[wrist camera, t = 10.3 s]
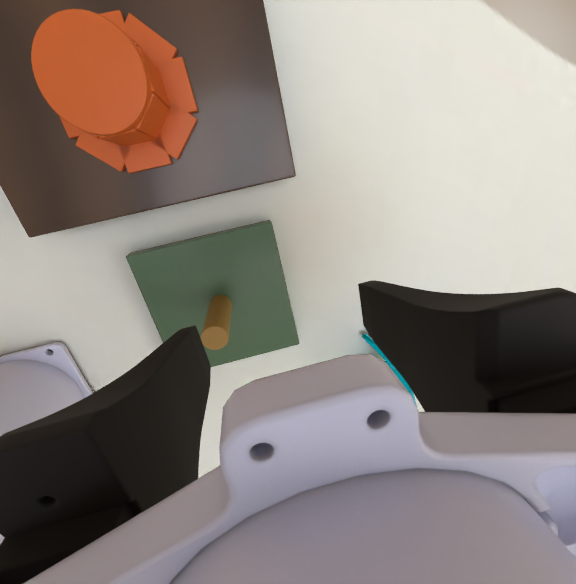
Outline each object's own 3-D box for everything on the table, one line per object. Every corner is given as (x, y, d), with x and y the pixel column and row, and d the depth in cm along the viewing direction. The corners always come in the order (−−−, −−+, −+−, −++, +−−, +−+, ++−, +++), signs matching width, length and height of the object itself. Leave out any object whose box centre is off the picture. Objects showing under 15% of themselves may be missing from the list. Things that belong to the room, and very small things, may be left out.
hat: (91, 182, 17) (48, 183, 13) (26, 32, 14) (-52, -20, 10) (211, 155, 17) (201, 149, 13) (168, 4, 14) (142, -56, 11)
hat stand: (179, 368, 24) (160, 424, 19) (130, 252, 21) (88, 280, 15) (297, 338, 25) (312, 384, 19) (270, 219, 21) (279, 234, 16)
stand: (54, 230, 19) (28, 238, 17) (-54, 21, 15) (-106, -6, 13) (290, 176, 20) (296, 176, 18) (249, -36, 16) (249, -72, 14)
